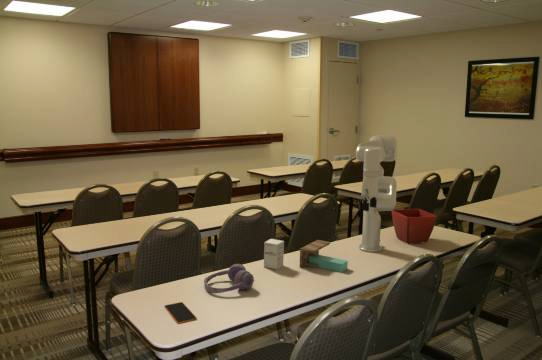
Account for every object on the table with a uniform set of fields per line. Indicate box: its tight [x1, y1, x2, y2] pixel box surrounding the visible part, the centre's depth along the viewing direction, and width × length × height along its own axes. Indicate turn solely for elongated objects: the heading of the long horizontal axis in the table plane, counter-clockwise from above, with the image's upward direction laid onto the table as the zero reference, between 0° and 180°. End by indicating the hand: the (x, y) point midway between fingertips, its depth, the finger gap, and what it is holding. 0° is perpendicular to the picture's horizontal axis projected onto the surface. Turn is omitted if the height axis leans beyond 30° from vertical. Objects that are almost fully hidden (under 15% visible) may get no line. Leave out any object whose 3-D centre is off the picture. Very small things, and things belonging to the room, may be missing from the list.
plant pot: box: [391, 208, 438, 245], centre depth 271 cm, size 19×19×17 cm
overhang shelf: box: [299, 239, 331, 269], centre depth 229 cm, size 18×7×10 cm, turn 147°
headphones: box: [203, 263, 255, 294], centre depth 198 cm, size 18×8×20 cm
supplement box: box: [263, 238, 285, 270], centre depth 224 cm, size 7×7×13 cm
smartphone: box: [163, 301, 198, 325], centre depth 173 cm, size 8×17×1 cm, turn 30°
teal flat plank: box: [309, 254, 349, 273], centre depth 225 cm, size 6×18×4 cm, turn 57°
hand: (369, 208), depth 225 cm, fingers open, 9 cm apart
